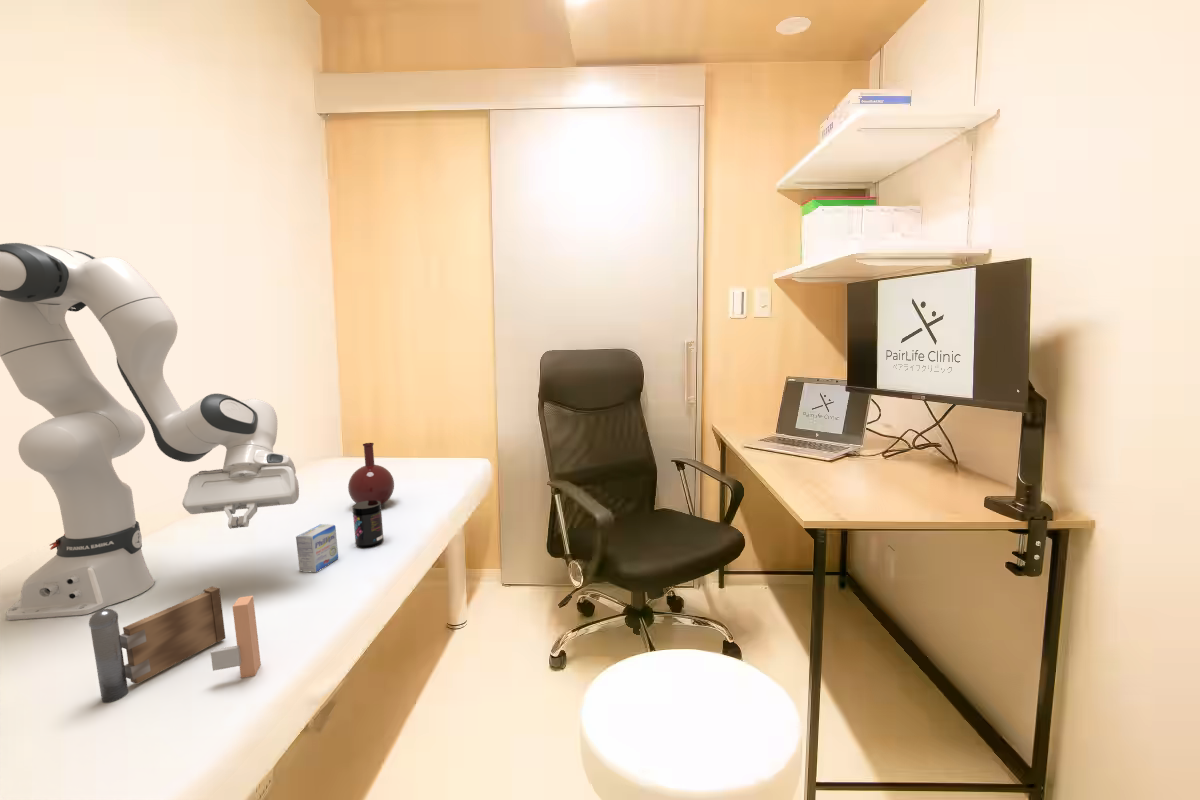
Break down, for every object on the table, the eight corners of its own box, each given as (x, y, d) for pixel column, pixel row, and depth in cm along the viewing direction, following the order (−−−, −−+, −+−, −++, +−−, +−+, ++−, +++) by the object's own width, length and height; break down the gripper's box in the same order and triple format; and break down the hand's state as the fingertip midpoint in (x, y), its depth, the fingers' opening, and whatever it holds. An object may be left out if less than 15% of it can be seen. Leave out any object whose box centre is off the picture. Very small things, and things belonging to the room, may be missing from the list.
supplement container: (364, 538, 143) (361, 500, 142) (388, 538, 143) (385, 500, 141) (350, 548, 137) (346, 508, 135) (375, 549, 136) (372, 509, 135)
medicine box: (315, 573, 123) (312, 536, 122) (298, 572, 124) (295, 535, 123) (339, 558, 131) (336, 524, 129) (322, 557, 131) (319, 523, 130)
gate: (134, 686, 84) (125, 629, 82) (126, 683, 84) (118, 626, 83) (225, 638, 96) (219, 588, 95) (218, 636, 97) (212, 586, 96)
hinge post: (96, 705, 80) (82, 617, 78) (108, 691, 83) (95, 606, 81) (122, 700, 81) (109, 613, 79) (133, 686, 84) (121, 603, 82)
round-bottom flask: (359, 501, 175) (354, 440, 173) (400, 499, 176) (396, 438, 174) (343, 514, 162) (337, 449, 160) (388, 512, 163) (383, 447, 161)
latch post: (214, 685, 84) (205, 612, 82) (223, 671, 88) (214, 601, 86) (253, 678, 86) (245, 606, 84) (260, 664, 89) (253, 595, 88)
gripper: (185, 464, 111) (169, 526, 103) (297, 455, 117) (290, 513, 109) (196, 479, 116) (182, 540, 108) (303, 470, 122) (297, 526, 114)
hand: (238, 526), depth 108 cm, fingers closed
